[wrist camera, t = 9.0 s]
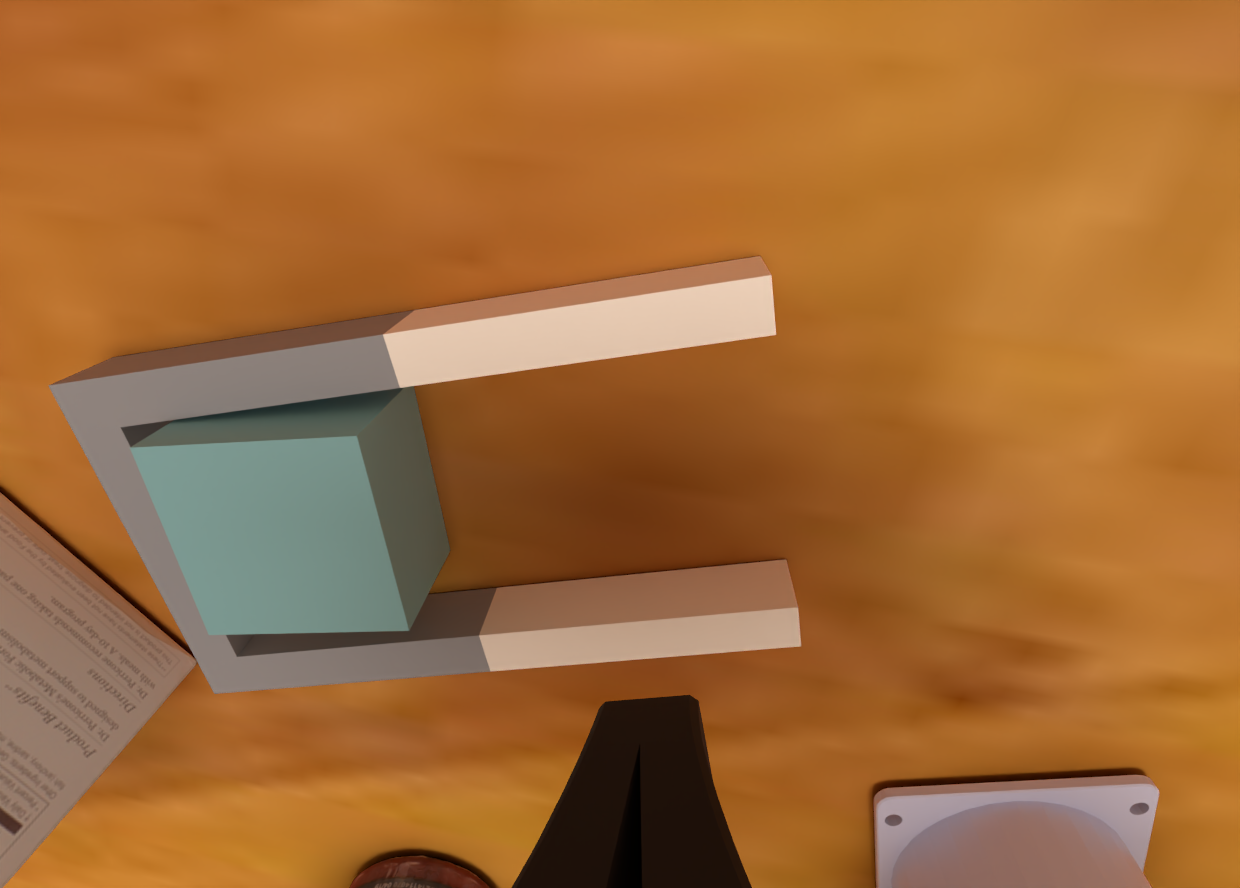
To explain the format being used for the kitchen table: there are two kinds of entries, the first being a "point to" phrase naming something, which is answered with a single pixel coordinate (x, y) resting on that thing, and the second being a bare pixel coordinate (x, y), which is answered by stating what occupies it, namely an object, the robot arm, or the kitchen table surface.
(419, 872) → the supplement bottle
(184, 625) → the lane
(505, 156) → the kitchen table surface
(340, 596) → the block
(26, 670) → the supplement box
